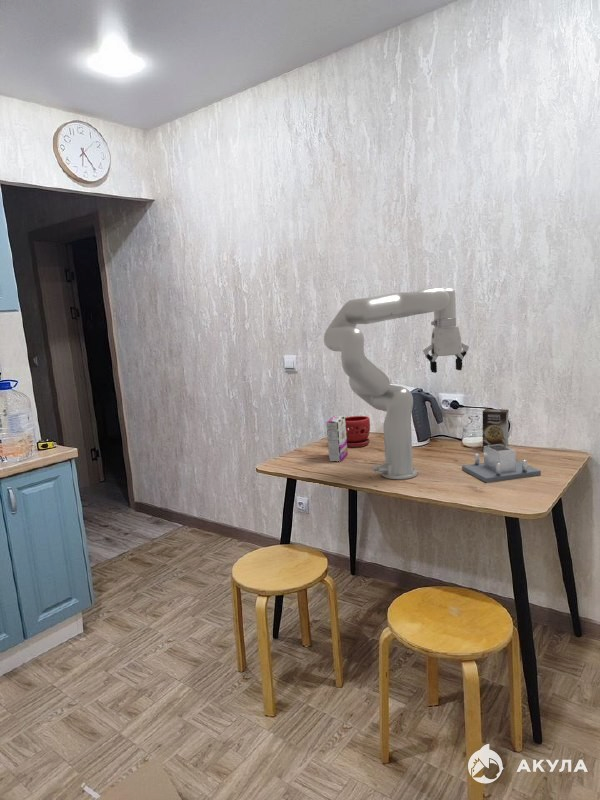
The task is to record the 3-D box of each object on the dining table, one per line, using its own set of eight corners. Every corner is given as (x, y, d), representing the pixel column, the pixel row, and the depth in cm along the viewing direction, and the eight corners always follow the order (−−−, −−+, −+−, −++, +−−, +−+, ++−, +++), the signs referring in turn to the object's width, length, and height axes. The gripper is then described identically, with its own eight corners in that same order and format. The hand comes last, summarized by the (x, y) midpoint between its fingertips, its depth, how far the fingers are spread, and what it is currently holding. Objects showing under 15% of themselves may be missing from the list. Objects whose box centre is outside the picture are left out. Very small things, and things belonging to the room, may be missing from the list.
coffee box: (482, 451, 215) (481, 411, 213) (485, 447, 221) (484, 408, 218) (506, 452, 211) (506, 411, 208) (509, 448, 216) (508, 408, 214)
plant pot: (373, 441, 244) (371, 414, 242) (367, 448, 232) (366, 421, 230) (344, 441, 248) (343, 415, 246) (337, 448, 236) (336, 421, 234)
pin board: (486, 482, 178) (486, 478, 178) (462, 469, 194) (462, 465, 194) (540, 475, 182) (540, 470, 182) (512, 462, 198) (512, 458, 197)
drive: (499, 473, 182) (499, 452, 181) (484, 465, 192) (483, 445, 191) (515, 470, 183) (515, 450, 182) (499, 463, 193) (499, 443, 192)
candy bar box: (336, 454, 226) (334, 415, 223) (348, 454, 224) (345, 415, 222) (328, 462, 216) (325, 421, 213) (340, 462, 214) (338, 421, 211)
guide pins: (497, 476, 179) (497, 464, 179) (473, 464, 194) (473, 453, 193) (528, 472, 181) (528, 460, 181) (502, 460, 196) (502, 449, 195)
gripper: (427, 325, 190) (428, 374, 193) (472, 322, 193) (473, 370, 196) (418, 325, 197) (419, 372, 200) (462, 321, 201) (463, 368, 203)
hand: (446, 371), depth 198 cm, fingers open, 9 cm apart
